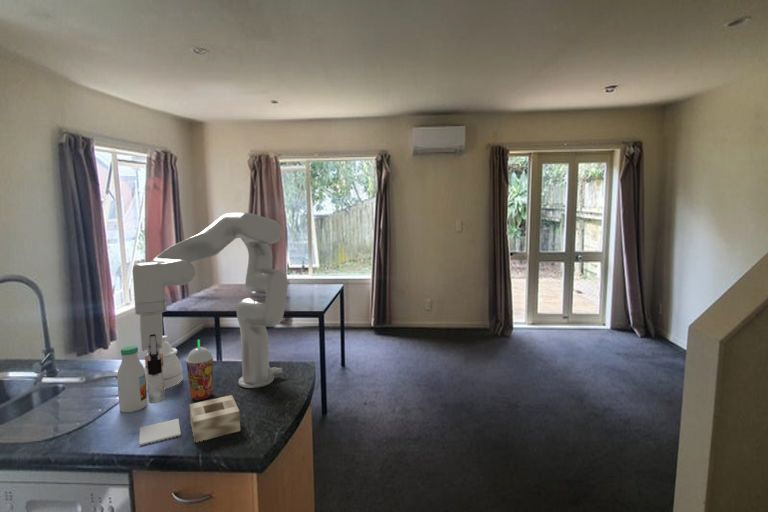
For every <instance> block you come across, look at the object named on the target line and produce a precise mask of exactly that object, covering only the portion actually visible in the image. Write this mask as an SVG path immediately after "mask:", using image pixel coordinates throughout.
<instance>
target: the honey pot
mask: <svg viewBox="0 0 768 512" xmlns="http://www.w3.org/2000/svg"><path fill="white" fill-rule="evenodd" d="M167 340H168V335H163V337H162V347H161V348H160V347H159V352H160V353H162V354H163V364H164V365H163V377H164V388H168V389H170V388H169V387H171V388H173V387H172V386H174V387H175V385H176V384H178V385H180V384H181V383H182V382H183V381H182V380H184V378H183V375H184V374H183V366H182V364H181V362H180V360H179V357H178V356H177V353H178V349H177V348H175V347H172V345H171V344H170V343H169V342H168V341H167ZM150 352H151V351H150ZM147 355H148V353H147V354H146V356H147ZM143 367H144V370H145V378H146V389H148V384H147V369H146V366H143ZM181 381H182V382H181ZM180 382H181V383H180ZM179 383H180V384H179ZM176 386H177V385H176Z"/></svg>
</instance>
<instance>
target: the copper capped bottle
mask: <svg viewBox="0 0 768 512" xmlns="http://www.w3.org/2000/svg"><path fill="white" fill-rule="evenodd" d="M157 357H158V356H157ZM160 358H161V368H162V372H161V373H158V374H152V375H149V374H148V355H147V354H146V355H145V356H144V365H145V366H146V369H147V384H148V390H147V400H148V403H149V404H158V403H161V402H164V401H165V400H166V399H165V394H166V393H165V389H164V377H163V365H164V364H163V354H162V353H160ZM145 366H144V367H145Z"/></svg>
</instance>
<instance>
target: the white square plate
mask: <svg viewBox="0 0 768 512" xmlns="http://www.w3.org/2000/svg"><path fill="white" fill-rule="evenodd" d="M181 434H182V433H181V427H180V420H179V418H175V419H170V420H166V421H162V422H158V423H153V424H149V425H145V426H141V427H139V443H138V444H139V445H143V446H145V445H144V444H147V445H149V444H148V443H151V444H153V443H152V442H154V443H157V442H156V441H158V442H162V441H166V440H170V439H174V438H177V437H176V436H178V437H181V436H182V435H181ZM180 435H181V436H180ZM173 437H174V438H173ZM169 438H170V439H169ZM165 439H166V440H165ZM161 440H162V441H161Z"/></svg>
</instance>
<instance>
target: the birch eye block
mask: <svg viewBox="0 0 768 512" xmlns="http://www.w3.org/2000/svg"><path fill="white" fill-rule="evenodd" d="M188 406H189V418H190V422H189V423H190V426H191V427H192V428H191V431H192V432H193V433H192V432H191V433H192V436H193V437H194V438H193V442H194V443H195V442H196V443H199V441H200V442H204V441H207V440H211V439H214V438H215V439H216V438H219V437H222V436H225V435H229V434H233V433H238V432H240V431H241V419H240V418H241V416H240V409H239V407H238V405H237V402H236V401H235V399H234V396H233V395H232V394H231V395H225V396H222V397H221V396H220V397H218V398H212V399H211V398H210V399H207V400H203V401H198V402H194V403H190V404H189V405H188ZM203 440H204V441H203Z"/></svg>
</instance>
